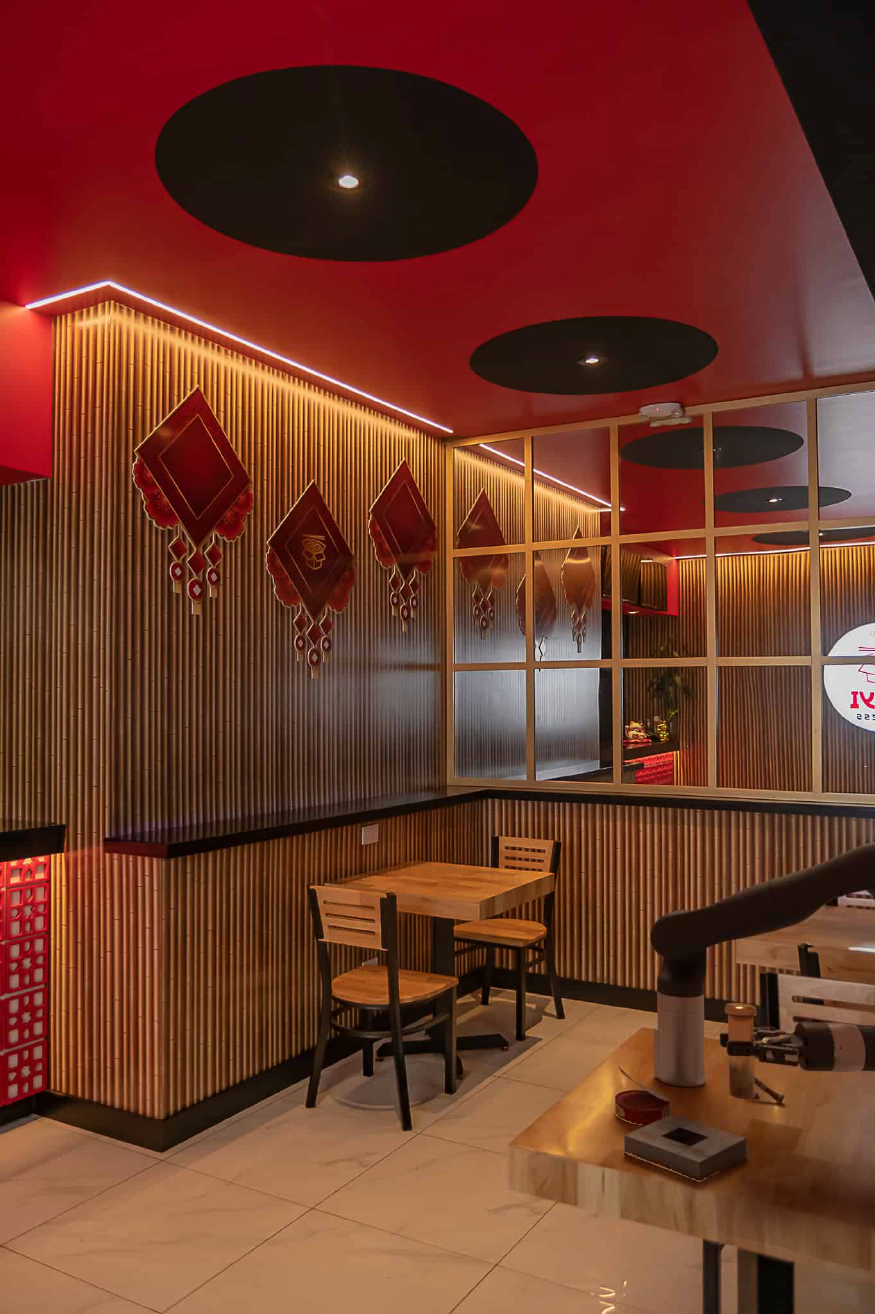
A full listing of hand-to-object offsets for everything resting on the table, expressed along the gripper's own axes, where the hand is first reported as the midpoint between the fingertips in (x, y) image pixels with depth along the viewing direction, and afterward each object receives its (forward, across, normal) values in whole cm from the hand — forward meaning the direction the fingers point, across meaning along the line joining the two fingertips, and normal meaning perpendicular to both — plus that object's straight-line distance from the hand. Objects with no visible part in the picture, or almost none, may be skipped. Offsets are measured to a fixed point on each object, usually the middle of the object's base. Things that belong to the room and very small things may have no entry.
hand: (724, 1044), depth 158 cm
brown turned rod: (-14, -27, +18) cm, 35 cm away
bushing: (-3, 0, +8) cm, 8 cm away
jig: (+7, 0, +18) cm, 19 cm away
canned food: (+11, -17, +18) cm, 27 cm away
